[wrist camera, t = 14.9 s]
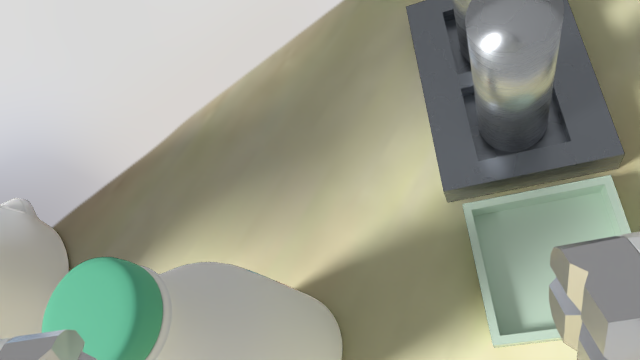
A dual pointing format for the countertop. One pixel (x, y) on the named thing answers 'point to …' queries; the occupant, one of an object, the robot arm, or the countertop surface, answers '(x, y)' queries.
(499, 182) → the pallet
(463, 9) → the seated billet
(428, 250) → the countertop surface
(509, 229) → the tray
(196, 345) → the milk bottle
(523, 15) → the billet
